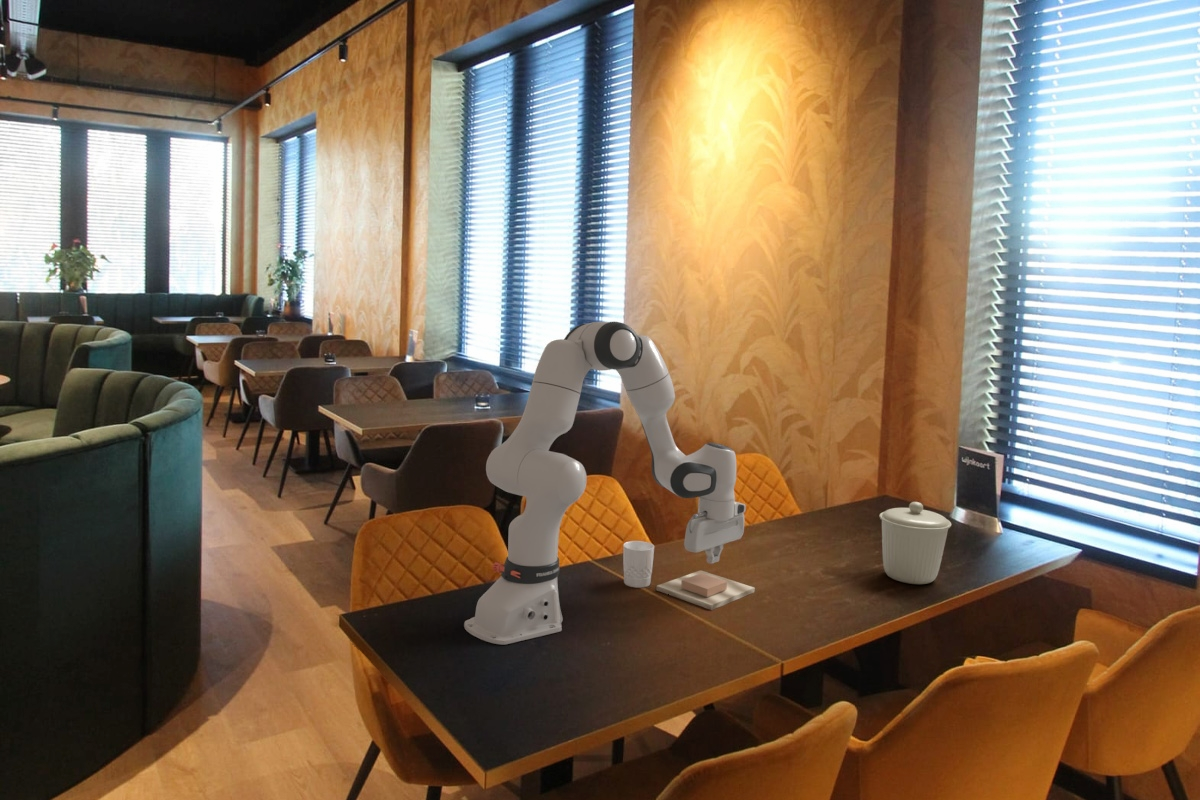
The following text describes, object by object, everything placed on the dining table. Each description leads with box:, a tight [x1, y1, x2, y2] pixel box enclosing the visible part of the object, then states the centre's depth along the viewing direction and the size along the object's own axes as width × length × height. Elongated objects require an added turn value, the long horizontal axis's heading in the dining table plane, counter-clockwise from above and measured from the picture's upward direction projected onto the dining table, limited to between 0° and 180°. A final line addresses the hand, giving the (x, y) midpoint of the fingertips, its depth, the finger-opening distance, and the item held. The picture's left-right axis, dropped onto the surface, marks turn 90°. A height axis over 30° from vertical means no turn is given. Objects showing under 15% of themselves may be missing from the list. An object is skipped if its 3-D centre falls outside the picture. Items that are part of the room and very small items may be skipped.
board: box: [656, 569, 756, 611], centre depth 213 cm, size 18×17×1 cm
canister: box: [878, 501, 952, 585], centre depth 228 cm, size 18×18×21 cm
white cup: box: [622, 540, 655, 589], centre depth 216 cm, size 8×8×10 cm
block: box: [681, 573, 727, 597], centre depth 211 cm, size 2×8×8 cm
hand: (712, 562), depth 212 cm, fingers closed
